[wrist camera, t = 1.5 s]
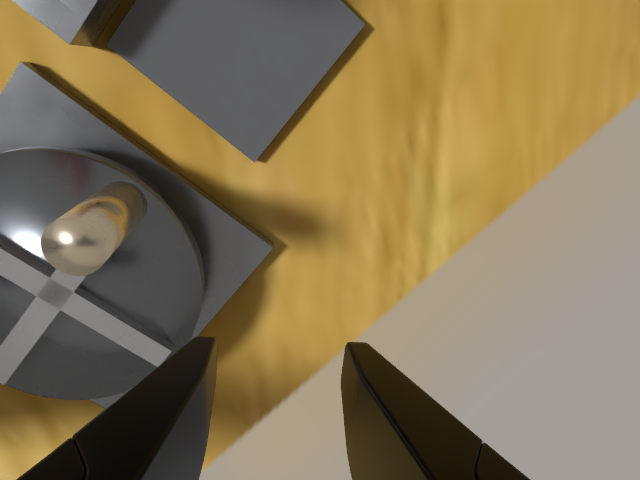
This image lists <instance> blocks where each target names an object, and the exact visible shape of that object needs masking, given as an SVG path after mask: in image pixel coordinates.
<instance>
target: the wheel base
mask: <svg viewBox="0 0 640 480" xmlns="http://www.w3.org/2000/svg"><path fill="white" fill-rule="evenodd" d="M31 146H57V147H67V148H74V149H78V150H83V151H87V152H92V153H95V154H97V155H100V156H103V157H106V158H109V159H111V160H113V161H115V162H118V163H120V164H122V165H124V166H126V167H128V168H130V169H131V170H133V171H134V172H136V173H137V174H139V175H141V176H142V177H144V178H145V179H147V180H148V181H149V182H150V183H151V184H153V185H154V186H155V187H156V188H158V189H159V190H160V191H161V192H162V193H163V194H164V195H165V196H166V197H167V198H168V199H169V200H170V201H171V202H172V203H173V204H174V206H175V207H176V208H177V210H178V211H179V212H180V214H181V215H182V216H183V217H184V219H185V221H186V222H187V224H188V226H189V228H190V229H191V231H192V233H193V235H194V237H195V240H196V242H197V245H198V247H199V250H200V254H201V258H202V262H203V267H204V276H205V289H204V298H203V304H202V309H201V312H200V315H199V318H198V321H197V324H196V327H195V330H194V333H193V335H192V337H191V339H190V340H192V339H193V338H194V337H197V336H198V335H199V334H200V332H201V331H202V330H203V329H204V328H205V327H206V325H207V324H208V323H209V322H210V321H211V320H212V319H213V317H214V316H215V315H216V314H217V313H218V312H219V310H220V309H221V308H222V307H223V306H224V305H225V303H226V302H227V301H228V300H229V299H230V298H231V296H232V295H233V294H234V293H235V292H236V291H237V290H238V288H239V287H240V286H241V285H242V284H243V283H244V281H245V280H246V279H247V278H248V277H249V276H250V274H251V273H252V272H253V271H254V270H255V269H256V267H257V266H258V265H259V264H260V263H261V262H262V261H263V259H264V258H265V257H266V256H267V255H268V254H269V252H270V251H271V250H272V249H273V243H272V242H271V241H270V240H268V239H267V238H266V237H264V236H263V235H262V234H260V233H259V232H258V231H256V230H255V229H254V228H252V227H251V226H250V225H248V224H247V223H245V222H244V221H243V220H241V219H240V218H239V217H237V216H236V215H235V214H233V213H232V212H231V211H229V210H228V209H227V208H225V207H224V206H223V205H221V204H220V203H218V202H217V201H216V200H214V199H213V198H212V197H210V196H209V195H208V194H206V193H205V192H204V191H202V190H201V189H200V188H198V187H197V186H196V185H194V184H193V183H191V182H190V181H189V180H187V179H186V178H185V177H183V176H182V175H181V174H179V173H178V172H177V171H175V170H174V169H173V168H171V167H170V166H169V165H167V164H166V163H164V162H163V161H162V160H160V159H159V158H158V157H156V156H155V155H154V154H152V153H151V152H150V151H148V150H147V149H146V148H144V147H143V146H141V145H140V144H139V143H137V142H136V141H135V140H133V139H132V138H131V137H129V136H128V135H127V134H125V133H124V132H123V131H121V130H120V129H119V128H117V127H116V126H114V125H113V124H112V123H110V122H109V121H108V120H106V119H105V118H104V117H102V116H101V115H100V114H98V113H97V112H96V111H94V110H93V109H92V108H90V107H89V106H87V105H86V104H85V103H83V102H82V101H81V100H79V99H78V98H77V97H75V96H74V95H73V94H71V93H70V92H69V91H67V90H66V89H65V88H63V87H62V86H60V85H59V84H58V83H56V82H55V81H54V80H52V79H51V78H50V77H48V76H47V75H46V74H44V73H43V72H42V71H40V70H39V69H38V68H36V67H35V66H33V65H32V64H31V63H29V62H20V63H19V65H18V67H17V68H16V70H15V71H14V73H13V75H12V76H11V78H10V80H9V81H8V83H7V84H6V86H5V88H4V89H3V91H2V92H1V94H0V153H2V152H5V151H9V150H12V149H18V148H24V147H31ZM190 340H189V341H190ZM125 393H126V392H124V393H121V394H117V395H114V396H109V397H104V398H98V399H89V400H91V401H93V402H94V403H96V404H98V405H100V406H102V407H104V408H108V407H109V406H110V405H111V404H113V403H114V402H115V401H116V400H118V399H119V398H120V397H121V396H122V395H124V394H125Z"/></svg>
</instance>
